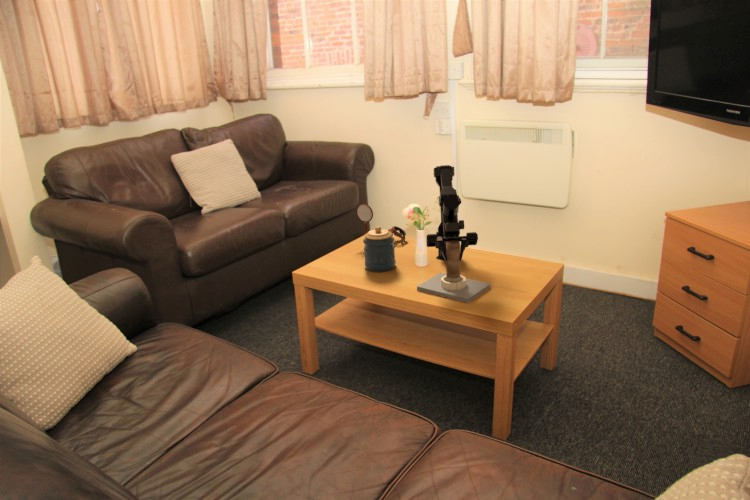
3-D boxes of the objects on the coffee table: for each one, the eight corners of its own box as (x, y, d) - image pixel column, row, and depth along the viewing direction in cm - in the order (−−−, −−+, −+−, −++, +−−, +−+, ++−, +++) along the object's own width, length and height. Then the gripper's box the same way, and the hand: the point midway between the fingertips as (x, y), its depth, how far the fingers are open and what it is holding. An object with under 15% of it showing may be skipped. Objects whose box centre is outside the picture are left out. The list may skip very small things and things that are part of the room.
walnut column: (444, 274, 220) (443, 242, 216) (455, 272, 222) (455, 239, 217) (450, 279, 216) (450, 245, 211) (462, 276, 218) (462, 243, 213)
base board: (417, 290, 221) (416, 280, 220) (440, 276, 233) (440, 266, 232) (468, 303, 208) (468, 292, 207) (490, 287, 220) (490, 277, 218)
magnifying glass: (358, 244, 274) (355, 203, 268) (360, 243, 276) (357, 202, 269) (373, 247, 270) (371, 205, 263) (375, 246, 271) (373, 204, 264)
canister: (386, 274, 238) (384, 232, 232) (359, 270, 244) (356, 229, 238) (401, 263, 248) (399, 223, 243) (374, 259, 255) (372, 220, 249)
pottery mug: (389, 238, 282) (397, 224, 279) (403, 250, 278) (411, 235, 275) (374, 239, 273) (383, 224, 270) (388, 251, 268) (397, 236, 265)
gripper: (425, 213, 215) (428, 252, 209) (477, 211, 214) (481, 250, 208) (425, 227, 225) (427, 264, 219) (474, 225, 224) (478, 262, 218)
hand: (453, 260), depth 215 cm, fingers closed on walnut column, 5 cm apart
